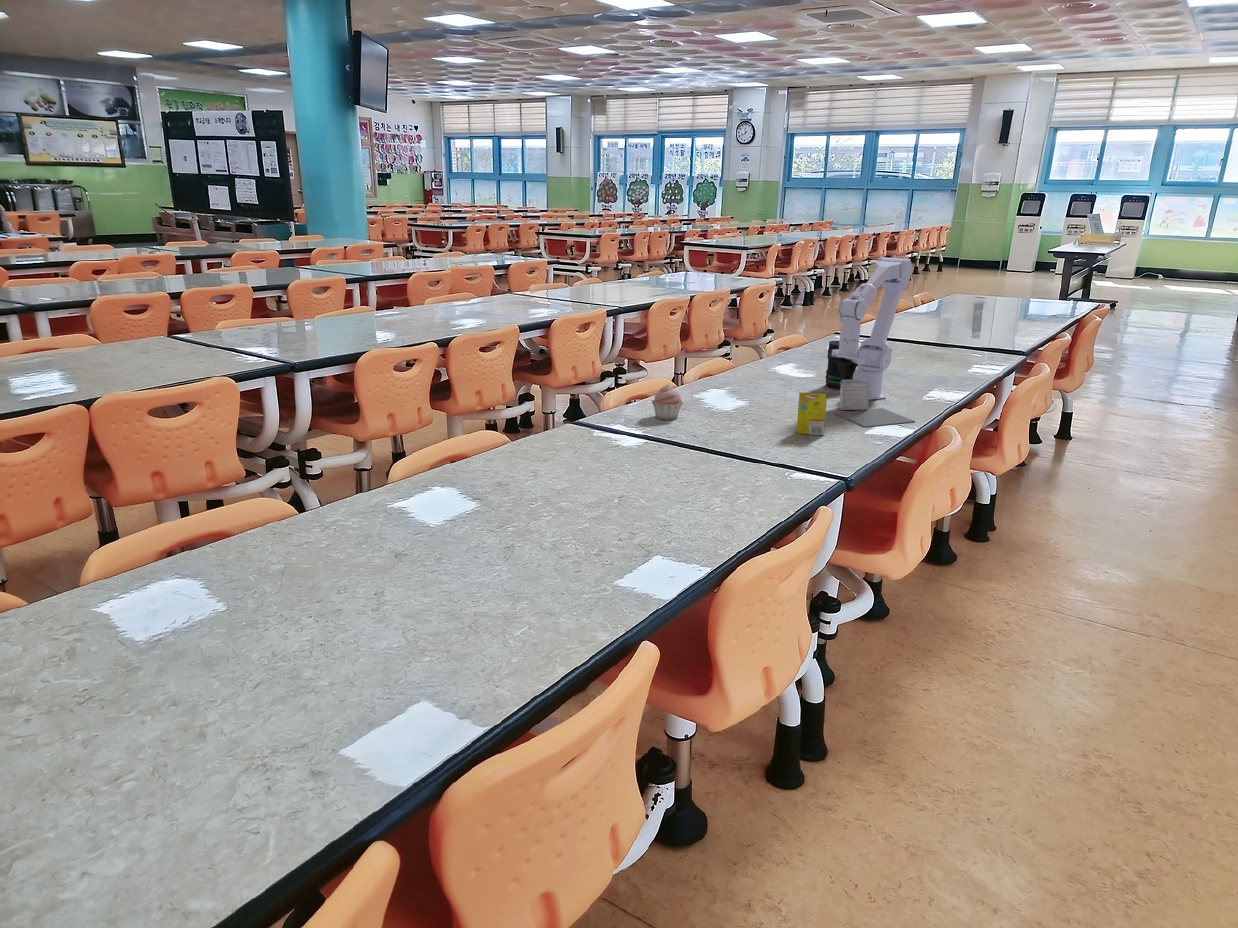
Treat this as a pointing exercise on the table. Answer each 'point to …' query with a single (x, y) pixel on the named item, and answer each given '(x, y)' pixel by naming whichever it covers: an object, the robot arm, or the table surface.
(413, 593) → the table surface
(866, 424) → the mat
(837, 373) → the storage jar
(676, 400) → the cupcake
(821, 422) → the crayon box
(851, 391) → the medicine box
